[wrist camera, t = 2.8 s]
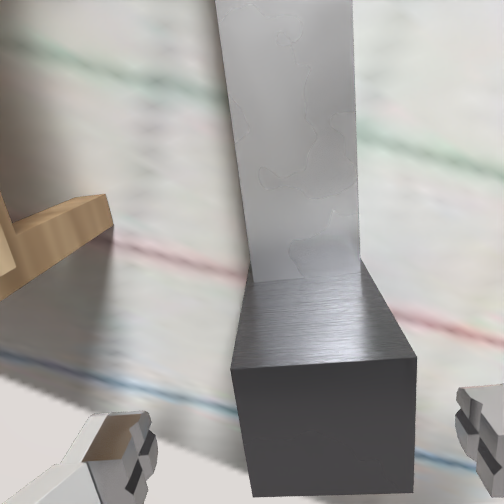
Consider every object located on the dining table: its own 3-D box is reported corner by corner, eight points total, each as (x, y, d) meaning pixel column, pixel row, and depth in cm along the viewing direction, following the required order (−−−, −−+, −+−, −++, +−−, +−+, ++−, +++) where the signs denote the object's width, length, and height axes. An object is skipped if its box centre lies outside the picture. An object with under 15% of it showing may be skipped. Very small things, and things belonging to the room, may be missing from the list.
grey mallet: (188, -189, 10) (48, -664, 4) (340, -224, 10) (450, -817, 3) (262, 348, 16) (252, 497, 10) (359, 341, 15) (413, 492, 9)
